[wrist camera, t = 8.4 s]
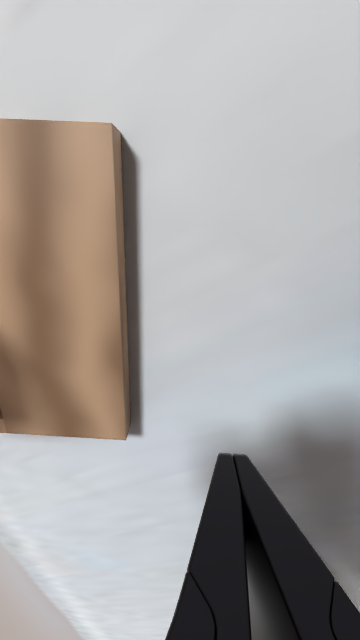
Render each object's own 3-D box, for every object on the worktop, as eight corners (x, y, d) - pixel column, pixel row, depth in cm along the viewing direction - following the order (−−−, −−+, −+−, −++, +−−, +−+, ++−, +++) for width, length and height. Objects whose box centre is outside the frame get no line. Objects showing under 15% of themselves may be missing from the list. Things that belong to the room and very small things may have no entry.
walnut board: (120, 132, 16) (111, 123, 14) (130, 422, 25) (125, 440, 23) (-129, 122, 17) (-168, 112, 15) (-34, 412, 25) (-52, 429, 23)
